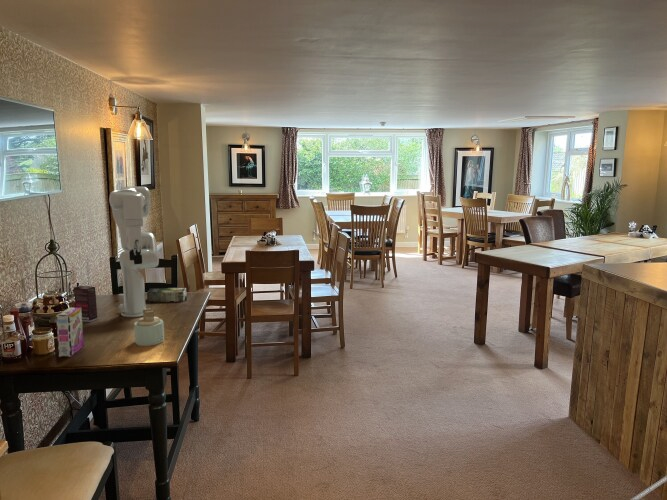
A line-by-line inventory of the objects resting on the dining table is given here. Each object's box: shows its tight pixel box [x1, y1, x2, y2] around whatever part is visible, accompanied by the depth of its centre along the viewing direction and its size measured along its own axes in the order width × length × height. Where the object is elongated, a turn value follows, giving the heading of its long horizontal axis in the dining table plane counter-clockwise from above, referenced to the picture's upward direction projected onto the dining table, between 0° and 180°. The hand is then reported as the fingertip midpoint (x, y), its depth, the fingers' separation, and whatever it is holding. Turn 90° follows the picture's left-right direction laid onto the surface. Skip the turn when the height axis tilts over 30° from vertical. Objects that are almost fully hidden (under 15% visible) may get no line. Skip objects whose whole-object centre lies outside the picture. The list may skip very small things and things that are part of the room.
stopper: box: [137, 307, 161, 326], centre depth 197 cm, size 8×8×8 cm
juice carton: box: [146, 287, 188, 303], centre depth 261 cm, size 20×10×6 cm, turn 100°
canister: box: [133, 318, 165, 347], centre depth 198 cm, size 11×11×8 cm
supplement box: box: [73, 285, 98, 323], centre depth 224 cm, size 9×5×16 cm, turn 71°
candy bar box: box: [55, 306, 85, 358], centre depth 185 cm, size 11×5×16 cm, turn 5°
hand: (135, 262), depth 209 cm, fingers open, 9 cm apart
